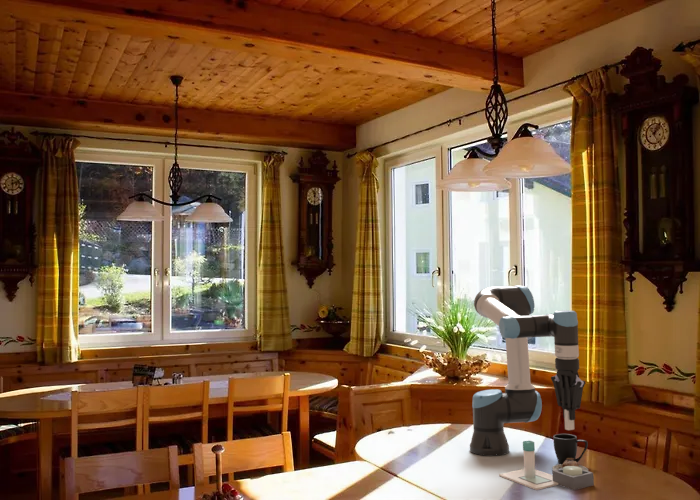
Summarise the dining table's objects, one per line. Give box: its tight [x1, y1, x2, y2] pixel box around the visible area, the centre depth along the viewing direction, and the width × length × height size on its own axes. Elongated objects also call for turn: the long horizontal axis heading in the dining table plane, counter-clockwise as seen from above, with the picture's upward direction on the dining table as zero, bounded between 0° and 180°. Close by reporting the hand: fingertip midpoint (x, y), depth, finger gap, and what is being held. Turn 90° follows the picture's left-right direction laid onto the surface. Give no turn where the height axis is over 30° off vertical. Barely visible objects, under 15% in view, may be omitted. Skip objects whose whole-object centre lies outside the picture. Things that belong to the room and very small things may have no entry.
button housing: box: [551, 468, 595, 491], centre depth 212 cm, size 9×9×4 cm
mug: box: [552, 433, 588, 465], centre depth 235 cm, size 8×12×10 cm
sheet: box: [498, 468, 559, 491], centre depth 219 cm, size 18×14×1 cm
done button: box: [563, 466, 582, 476], centre depth 212 cm, size 6×6×4 cm
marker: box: [522, 440, 536, 478], centre depth 219 cm, size 4×4×12 cm
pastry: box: [551, 458, 589, 471], centre depth 227 cm, size 12×12×5 cm
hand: (569, 429), depth 213 cm, fingers closed
